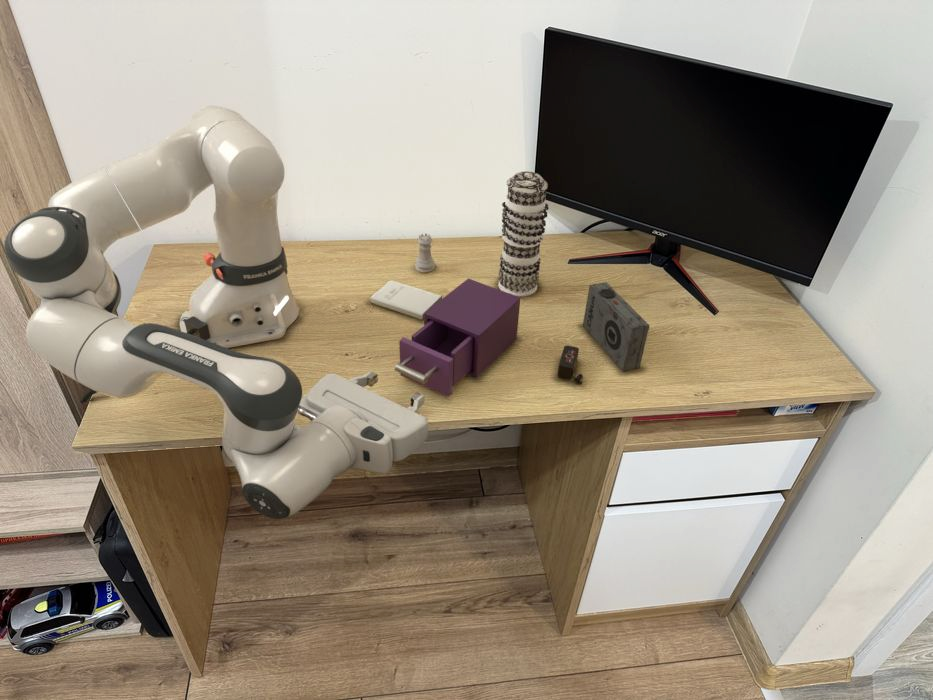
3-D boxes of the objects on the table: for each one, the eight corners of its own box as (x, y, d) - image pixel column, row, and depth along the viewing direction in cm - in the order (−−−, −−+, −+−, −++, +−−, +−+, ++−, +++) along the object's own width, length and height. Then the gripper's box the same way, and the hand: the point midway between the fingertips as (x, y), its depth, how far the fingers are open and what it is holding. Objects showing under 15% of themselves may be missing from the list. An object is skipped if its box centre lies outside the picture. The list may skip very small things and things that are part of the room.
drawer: (434, 411, 117) (434, 375, 112) (385, 388, 121) (383, 352, 117) (489, 358, 129) (492, 323, 124) (443, 338, 133) (443, 304, 129)
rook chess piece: (411, 265, 156) (411, 233, 151) (430, 261, 158) (430, 230, 153) (419, 275, 153) (419, 242, 148) (438, 271, 155) (438, 239, 150)
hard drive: (422, 321, 139) (370, 303, 144) (442, 301, 145) (391, 285, 149) (422, 314, 138) (369, 296, 143) (442, 294, 144) (391, 278, 148)
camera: (579, 323, 140) (586, 281, 134) (596, 320, 142) (604, 277, 136) (621, 372, 128) (631, 328, 122) (640, 368, 130) (650, 324, 124)
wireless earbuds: (555, 381, 126) (557, 367, 124) (562, 358, 131) (564, 344, 129) (581, 387, 125) (583, 373, 123) (587, 363, 130) (589, 349, 128)
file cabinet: (476, 378, 126) (478, 335, 120) (423, 355, 130) (423, 313, 125) (516, 339, 136) (520, 297, 130) (466, 319, 140) (468, 278, 135)
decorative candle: (535, 300, 147) (547, 189, 131) (492, 293, 148) (499, 182, 133) (542, 278, 154) (555, 170, 138) (501, 271, 155) (510, 164, 140)
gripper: (292, 423, 111) (349, 377, 120) (394, 478, 102) (448, 425, 112) (287, 393, 107) (346, 348, 116) (393, 448, 98) (448, 395, 108)
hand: (397, 386), depth 114 cm, fingers open, 8 cm apart
